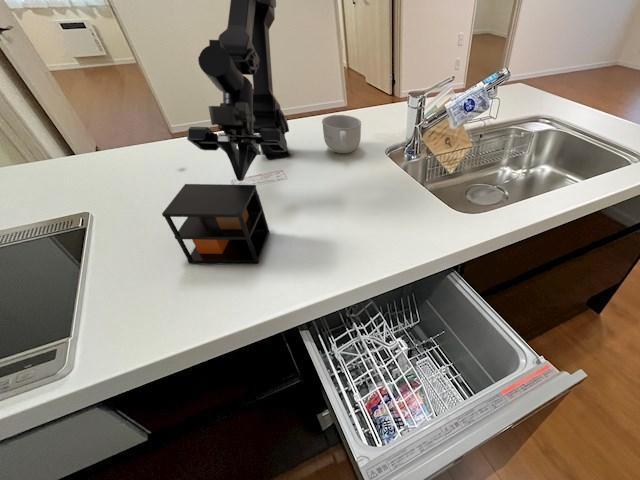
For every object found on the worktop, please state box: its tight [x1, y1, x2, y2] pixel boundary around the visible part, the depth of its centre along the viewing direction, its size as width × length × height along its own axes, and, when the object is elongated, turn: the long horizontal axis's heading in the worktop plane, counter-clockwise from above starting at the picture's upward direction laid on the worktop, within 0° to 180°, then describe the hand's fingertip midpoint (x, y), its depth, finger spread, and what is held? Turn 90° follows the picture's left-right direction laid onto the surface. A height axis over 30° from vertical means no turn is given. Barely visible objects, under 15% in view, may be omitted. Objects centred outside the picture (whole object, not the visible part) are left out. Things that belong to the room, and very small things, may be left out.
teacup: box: [321, 114, 362, 154], centre depth 98 cm, size 14×11×8 cm
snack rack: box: [161, 183, 271, 265], centre depth 65 cm, size 10×13×11 cm
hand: (239, 180), depth 73 cm, fingers closed
